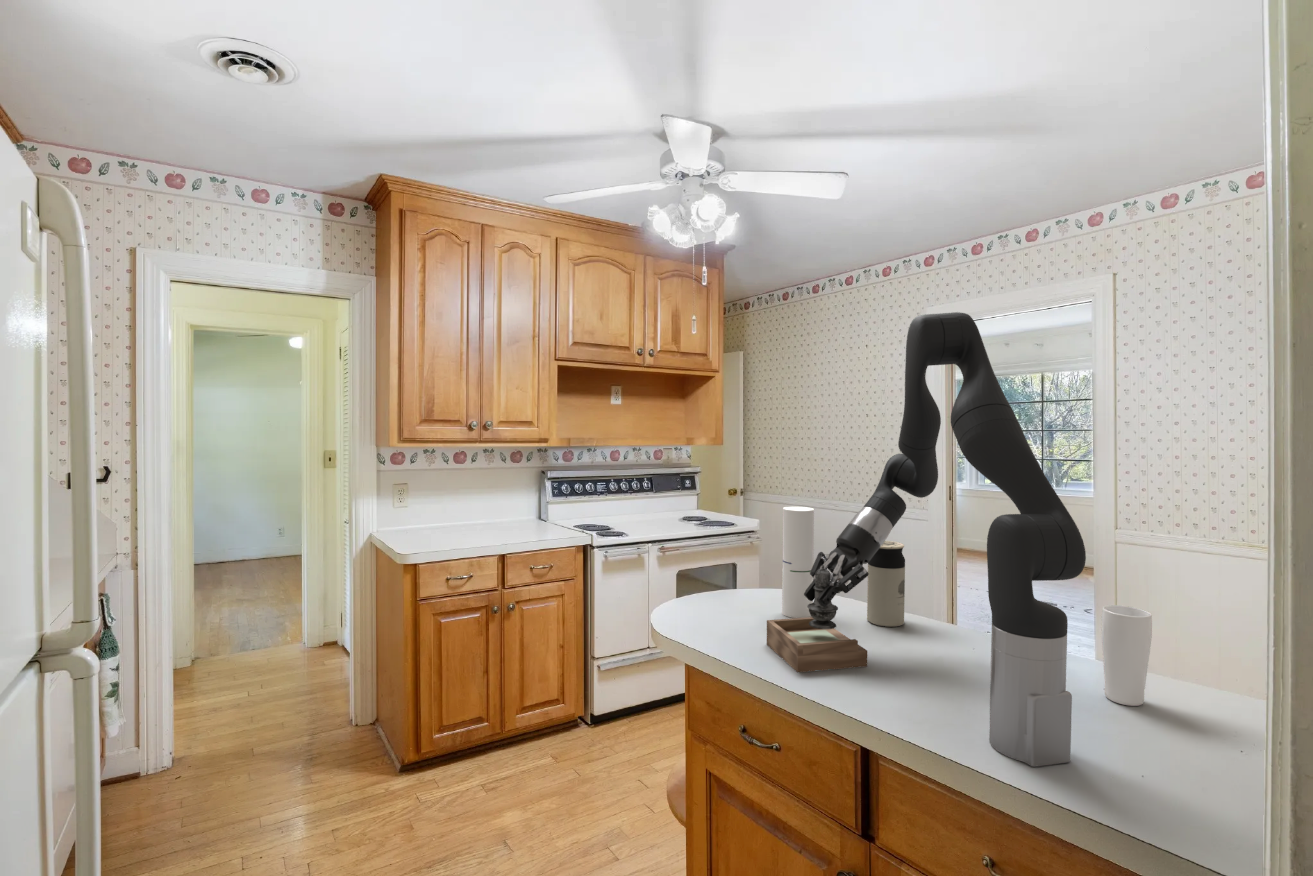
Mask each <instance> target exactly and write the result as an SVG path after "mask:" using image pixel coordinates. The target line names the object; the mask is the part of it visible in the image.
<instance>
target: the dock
mask: <svg viewBox="0 0 1313 876" xmlns="http://www.w3.org/2000/svg"><path fill="white" fill-rule="evenodd" d="M812 620H814V618H813V617H812V616H811V617H806V618H792V617H790V618H780V619H779V618H778V619H767V620H766V645H767V646H768V647H769V648H770V649H771V650H772V649H773V650H772V651H773V652H774V653H776V654H777V656H779V657H780V658H781V659H782V658H783V659H782V660H783V661H784V660H785V661H784V662H786V663H787V664H788V665H789V667H791V668H792V669H793V670H794V671H795V670H796V671H795V672H796V673H798V672H799V673H807V672H808V671H810V672H816V671H815V670H821V671H829V670H828V669H833V670H841V669H842V670H843V669H853V668H854V667H855V668H866V667H868V650H867V649H866V648H864V647H863V646H861V645H860V644H859V643H858V642H859V641H858V640H857V639H856V638H853V639H851V638H850V637H848V636H846V635H844V634H843V633H842V632H840V631H839V630H838V629H836V628H833V629H818V628H814V627H811V626H810V625H809V622H810V621H812ZM808 673H809V672H808Z"/></svg>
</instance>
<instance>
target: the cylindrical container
mask: <svg viewBox="0 0 1313 876" xmlns="http://www.w3.org/2000/svg"><path fill="white" fill-rule="evenodd" d="M814 527H815V509H814V508H812V507H809V506H784V507H782V571H781V573H782V574H781V575H782V577H781V578H782V580H781V581H782V585H781V586H782V588H781V590H782V591H781V595H782V596H781V613H782V615H783V616H785V617H788V618H806V617H812V616H811V615H810V612H809V608H808V607H807V606H808V605H809V604H811V603H813V602H814V600H813V601H810V600H808V599H807V598H806V597H805V596H804V593H805V591H806V589H807V588H808V587H809V585H810V584H811V583H812V582H813V577H812V576H811V575H810V572H811V569H812V567H813V565H814V551H815V549H814V545H815V543H814V541H815V540H814V539H815V538H814V537H815V536H814V534H815V532H814V531H815V528H814Z"/></svg>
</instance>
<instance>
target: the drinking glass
mask: <svg viewBox="0 0 1313 876" xmlns="http://www.w3.org/2000/svg"><path fill="white" fill-rule="evenodd" d="M1152 616H1153V615H1152V613H1151V612H1149V611H1147V610H1144V609H1142V608H1138V607H1133V606H1127V605H1117V604H1107V605H1103V606H1102V609H1101V618H1100V619H1101V623H1100V625H1101V626H1100V633H1101V634H1100V635H1101V636H1100V637H1101V647H1102V648H1101V649H1102V660H1103V661H1102V662H1103V675H1104V695H1105V697H1106V698H1107V699H1108V700H1110V701H1112V702H1114V703H1116V704H1119V705H1124V706H1128V707H1129V706H1131V707H1138V706H1142V705H1143V704H1145V689H1146V684H1147V683H1146V682H1147V676H1148V669H1149V661H1150V654H1151V646H1152V638H1153V637H1152V636H1153V617H1152Z"/></svg>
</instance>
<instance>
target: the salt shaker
mask: <svg viewBox="0 0 1313 876" xmlns="http://www.w3.org/2000/svg"><path fill="white" fill-rule="evenodd" d="M821 567H822V568H821V569H819V570H817V571H816V573H815V586H814V587H813V588H814V589H815V599H814V600H813V603H811V604H809V605H808V606H807V607H808V608H809V612H810V615H811V617H813V618H814V620H812V621H810V622H809V625H810V626H811V627H814V628H818V629H833V628H834V629H836V628H837V624H836V623H835V622H834V621H832V620H833V619H835V617H836V615H837V611H838V609H839V607H838V606H837V605H835V604H833V603H832V600H831V601H830V603H829V604H827V606H826V607H823V606H821V605H820V604H819V603H818V602H817V598H818V596H819V595H820V594H821V593H822V591H823V590H824V589H825V587H826V586H827V585H828V586H830V585H829V583H830V581H831V580H830V574H831V572H830V570H829V569H827V570H826V569H825V568H824V567H825V566H824V565H822V566H821Z"/></svg>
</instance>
